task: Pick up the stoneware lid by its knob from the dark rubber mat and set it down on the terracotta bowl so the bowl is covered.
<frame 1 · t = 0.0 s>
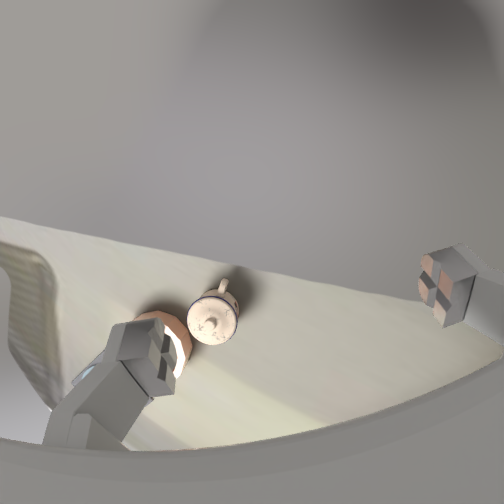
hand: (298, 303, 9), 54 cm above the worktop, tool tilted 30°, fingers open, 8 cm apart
bowl: (159, 342, 65), on the worktop
teacup with lid: (219, 302, 65), on the worktop
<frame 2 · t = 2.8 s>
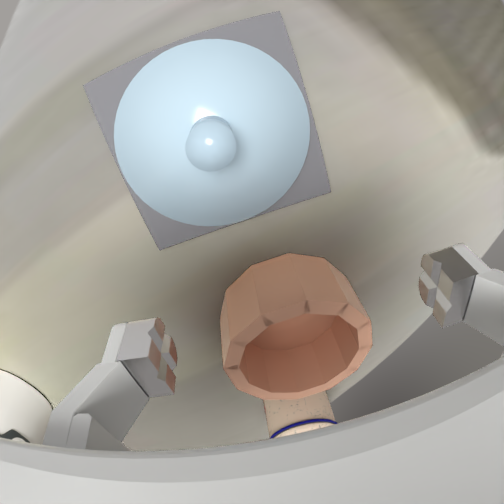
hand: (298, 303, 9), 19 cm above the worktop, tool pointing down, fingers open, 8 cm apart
bowl: (287, 310, 34), on the worktop
teacup with lid: (298, 387, 43), on the worktop
lid: (211, 133, 23), point 1 cm above the worktop, touching mat
mat: (211, 132, 24), on the worktop
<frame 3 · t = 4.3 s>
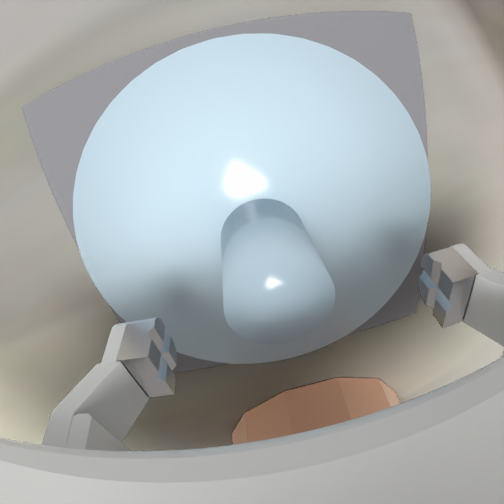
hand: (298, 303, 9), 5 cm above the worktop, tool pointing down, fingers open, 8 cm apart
bowl: (316, 425, 24), on the worktop
lid: (259, 225, 13), point 1 cm above the worktop, touching mat
mat: (257, 219, 14), on the worktop
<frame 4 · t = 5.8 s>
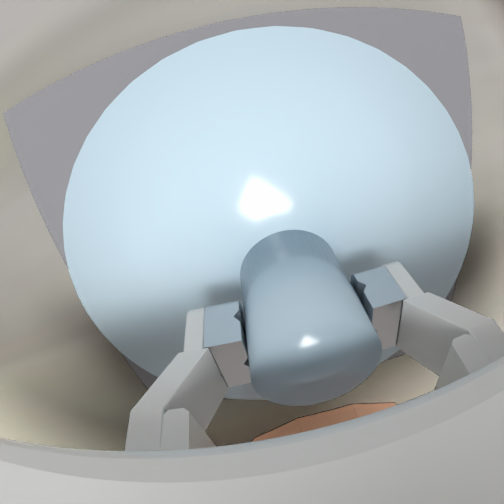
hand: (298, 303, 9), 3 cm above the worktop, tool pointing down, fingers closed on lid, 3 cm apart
bowl: (327, 447, 22), on the worktop
lid: (283, 257, 11), point 1 cm above the worktop, touching gripper, mat
mat: (281, 248, 12), on the worktop
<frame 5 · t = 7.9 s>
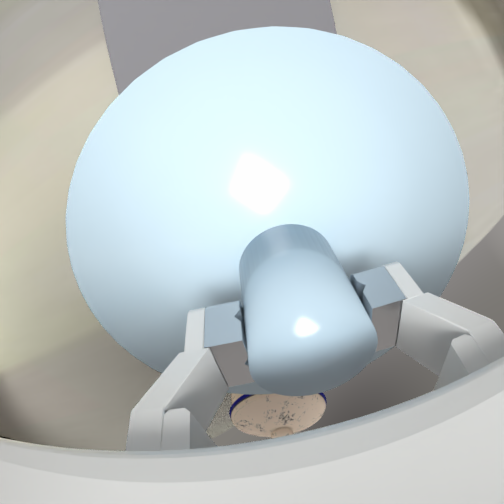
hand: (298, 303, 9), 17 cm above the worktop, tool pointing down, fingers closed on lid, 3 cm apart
teacup with lid: (276, 351, 35), on the worktop
lid: (282, 251, 12), point 14 cm above the worktop, touching gripper
when the fingers open (11 cm above the worktop, at t = 10.0 s): lid drops 1 cm, resting on bowl.
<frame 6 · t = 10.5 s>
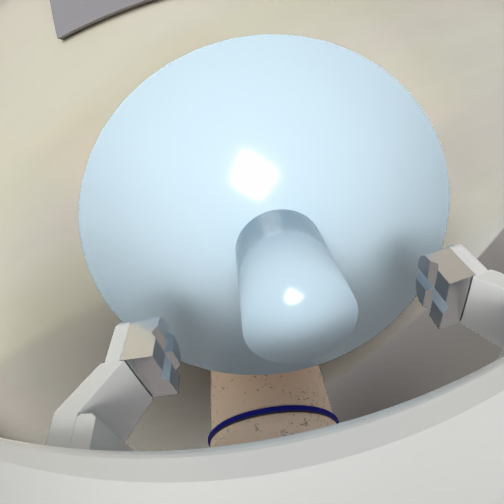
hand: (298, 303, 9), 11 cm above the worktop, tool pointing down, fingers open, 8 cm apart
teacup with lid: (272, 357, 27), on the worktop
lid: (275, 236, 13), point 7 cm above the worktop, touching bowl
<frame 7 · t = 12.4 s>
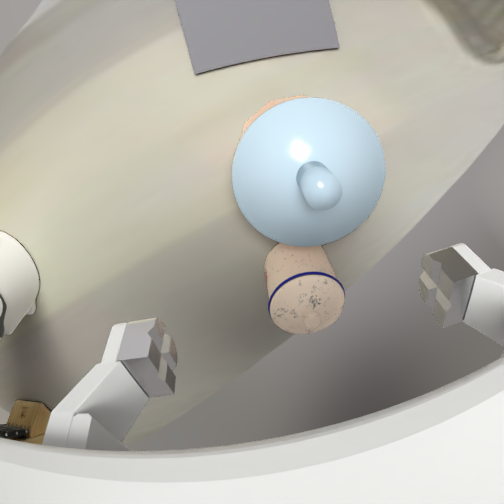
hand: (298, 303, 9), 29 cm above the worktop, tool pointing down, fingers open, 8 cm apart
bowl: (298, 155, 36), on the worktop
teacup with lid: (301, 269, 45), on the worktop
lid: (310, 174, 30), point 7 cm above the worktop, touching bowl
knife block: (45, 415, 67), on the worktop
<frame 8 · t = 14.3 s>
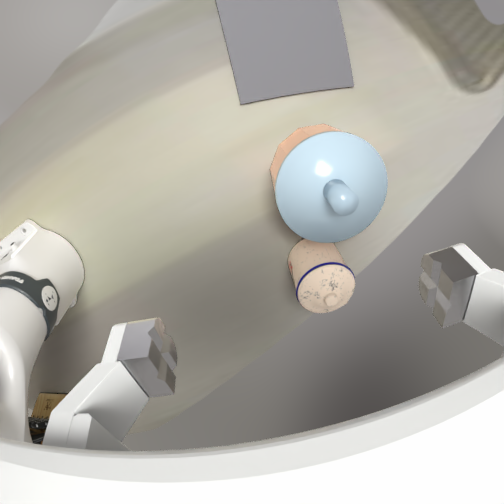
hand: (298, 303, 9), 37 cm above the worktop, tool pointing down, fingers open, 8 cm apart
bowl: (318, 171, 46), on the worktop
teacup with lid: (317, 262, 54), on the worktop
lid: (332, 188, 40), point 7 cm above the worktop, touching bowl
mat: (287, 38, 35), on the worktop
knife block: (67, 407, 74), on the worktop
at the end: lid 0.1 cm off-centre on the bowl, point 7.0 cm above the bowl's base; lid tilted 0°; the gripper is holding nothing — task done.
